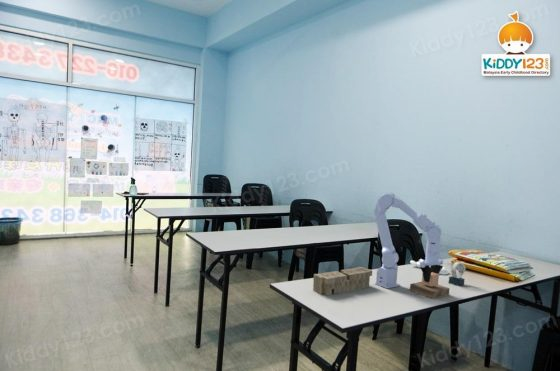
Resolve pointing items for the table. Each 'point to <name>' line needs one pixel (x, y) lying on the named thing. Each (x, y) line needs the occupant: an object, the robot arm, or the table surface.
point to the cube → (431, 280)
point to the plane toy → (417, 264)
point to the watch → (456, 278)
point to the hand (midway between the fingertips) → (430, 281)
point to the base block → (429, 290)
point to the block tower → (341, 280)
